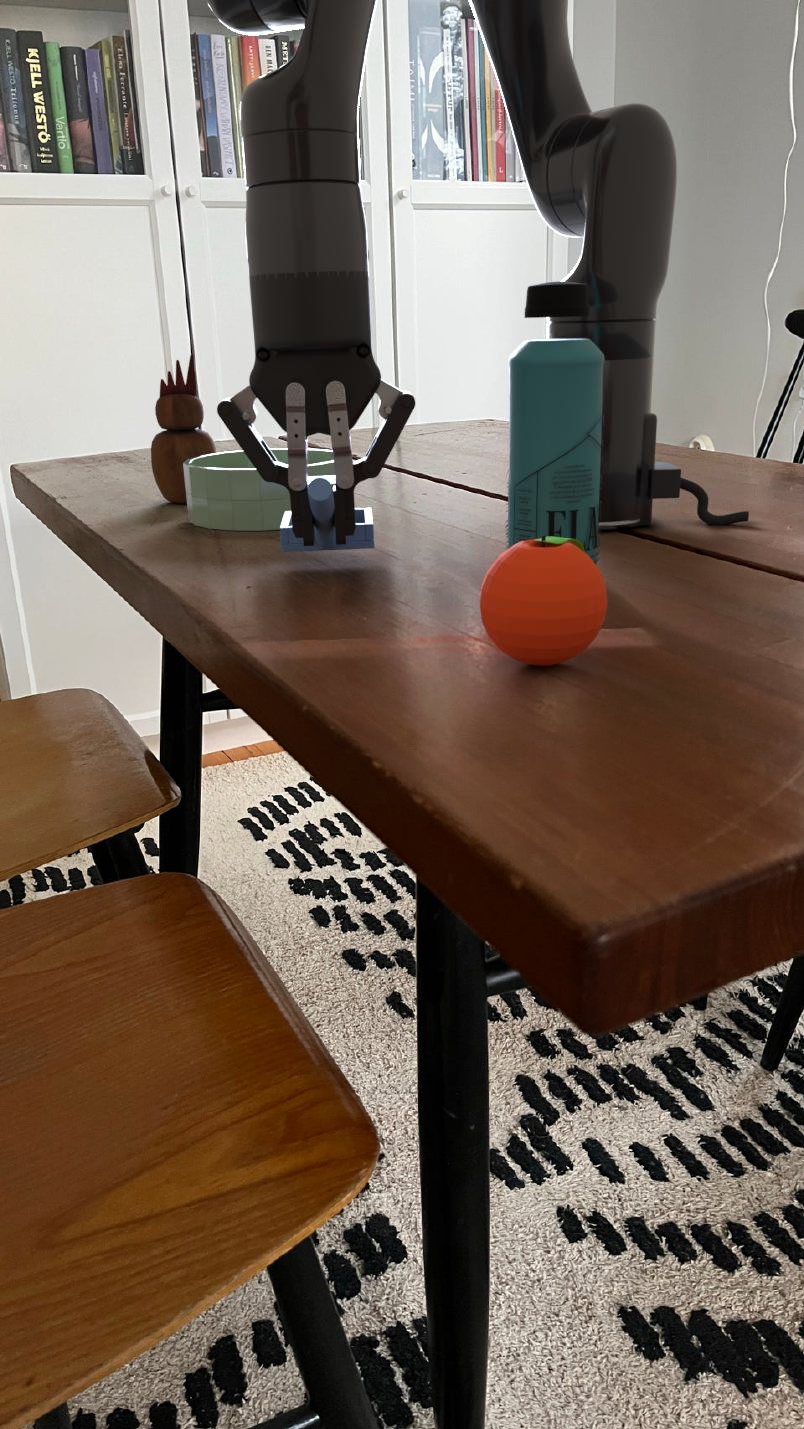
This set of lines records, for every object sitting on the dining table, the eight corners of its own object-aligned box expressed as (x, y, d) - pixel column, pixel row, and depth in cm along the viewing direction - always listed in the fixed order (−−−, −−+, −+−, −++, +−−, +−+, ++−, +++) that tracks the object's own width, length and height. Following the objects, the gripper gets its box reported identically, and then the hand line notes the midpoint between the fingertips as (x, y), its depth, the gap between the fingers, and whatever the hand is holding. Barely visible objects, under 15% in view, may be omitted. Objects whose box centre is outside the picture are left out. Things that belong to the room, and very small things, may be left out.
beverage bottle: (539, 605, 70) (545, 280, 63) (486, 585, 75) (486, 284, 68) (618, 592, 73) (632, 278, 66) (561, 574, 78) (569, 283, 71)
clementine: (533, 633, 64) (535, 516, 61) (636, 653, 60) (643, 528, 57) (454, 667, 58) (452, 539, 56) (562, 691, 54) (566, 554, 52)
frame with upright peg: (286, 533, 83) (280, 450, 81) (372, 530, 84) (368, 446, 81) (273, 581, 69) (265, 481, 66) (377, 577, 69) (373, 477, 67)
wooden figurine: (225, 496, 117) (213, 353, 111) (211, 505, 111) (197, 355, 106) (166, 497, 117) (150, 355, 112) (149, 506, 112) (132, 357, 107)
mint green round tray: (350, 505, 109) (347, 446, 107) (348, 534, 95) (345, 466, 92) (202, 510, 109) (196, 451, 106) (178, 540, 94) (171, 472, 92)
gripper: (190, 270, 62) (219, 560, 69) (421, 262, 63) (429, 550, 69) (206, 274, 69) (231, 537, 76) (414, 267, 70) (421, 528, 76)
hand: (325, 542), depth 72 cm, fingers closed on frame with upright peg
